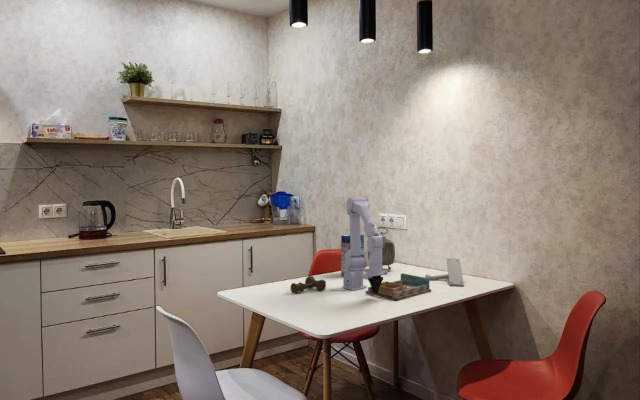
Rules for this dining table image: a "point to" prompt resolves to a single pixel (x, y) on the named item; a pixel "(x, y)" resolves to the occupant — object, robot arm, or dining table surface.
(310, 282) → the brown knobbed bar
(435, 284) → the dining table surface
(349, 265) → the robot arm
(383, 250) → the tabletop clock
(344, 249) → the beverage box
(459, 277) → the door handle
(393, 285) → the box
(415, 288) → the bay
